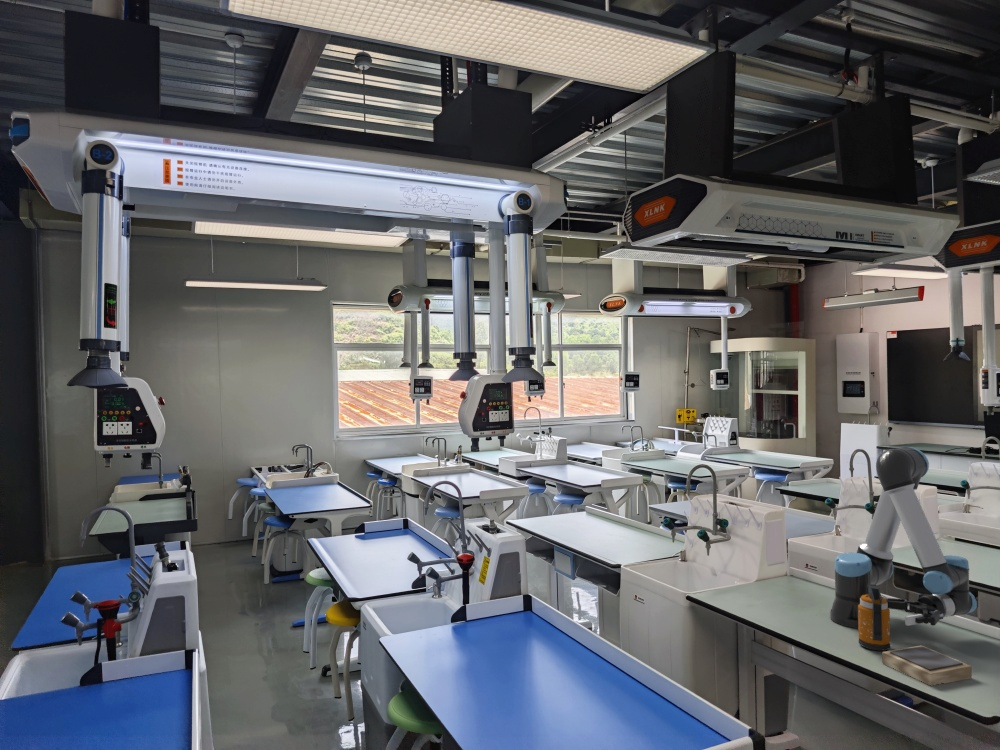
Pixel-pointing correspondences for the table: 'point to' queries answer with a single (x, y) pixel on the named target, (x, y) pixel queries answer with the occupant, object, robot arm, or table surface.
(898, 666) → the plinth
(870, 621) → the canister
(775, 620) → the table surface
